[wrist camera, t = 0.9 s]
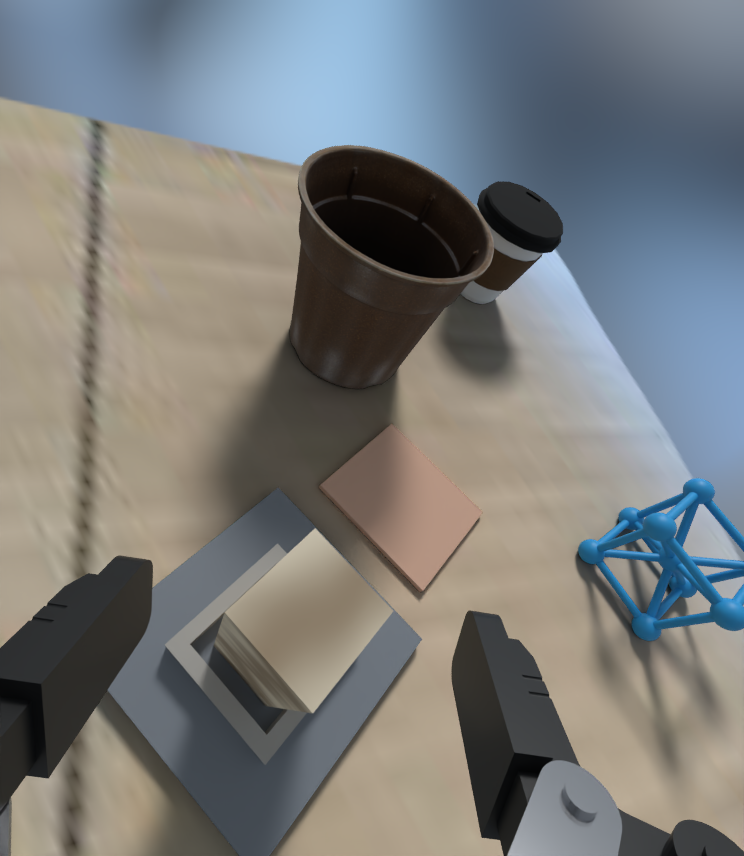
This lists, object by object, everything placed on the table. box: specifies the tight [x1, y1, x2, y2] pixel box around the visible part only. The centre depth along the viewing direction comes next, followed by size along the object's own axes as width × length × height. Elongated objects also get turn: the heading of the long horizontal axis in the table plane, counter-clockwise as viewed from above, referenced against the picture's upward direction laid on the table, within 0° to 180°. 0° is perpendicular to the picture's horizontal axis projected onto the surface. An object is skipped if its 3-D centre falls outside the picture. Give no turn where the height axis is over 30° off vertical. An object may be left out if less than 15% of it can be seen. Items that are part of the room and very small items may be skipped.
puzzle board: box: [108, 488, 422, 856], centre depth 29 cm, size 16×16×2 cm
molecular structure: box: [578, 478, 744, 641], centre depth 40 cm, size 10×10×10 cm
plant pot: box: [290, 145, 494, 389], centre depth 40 cm, size 16×16×16 cm
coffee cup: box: [461, 182, 563, 304], centre depth 55 cm, size 11×11×12 cm
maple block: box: [214, 528, 393, 713], centre depth 24 cm, size 5×5×14 cm
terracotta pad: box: [319, 424, 483, 592], centre depth 39 cm, size 12×10×1 cm
